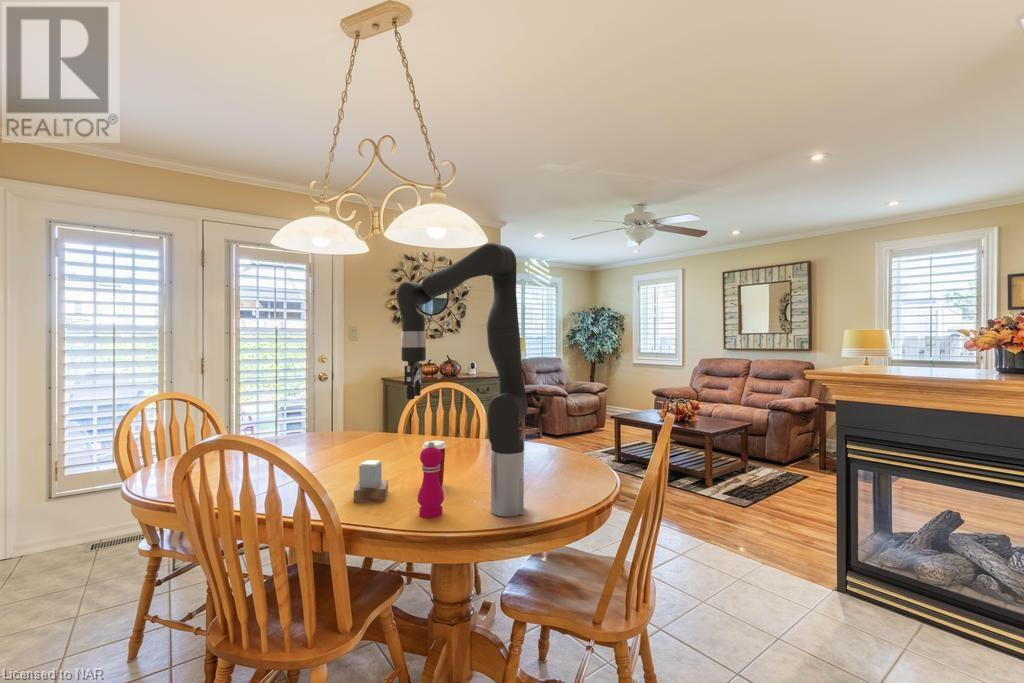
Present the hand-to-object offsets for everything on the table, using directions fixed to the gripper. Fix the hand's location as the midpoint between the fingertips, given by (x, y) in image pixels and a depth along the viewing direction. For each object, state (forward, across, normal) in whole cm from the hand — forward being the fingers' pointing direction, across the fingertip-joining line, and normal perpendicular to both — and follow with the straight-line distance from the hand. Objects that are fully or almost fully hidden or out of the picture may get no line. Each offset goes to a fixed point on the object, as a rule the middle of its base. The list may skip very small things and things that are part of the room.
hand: (413, 397), depth 152 cm
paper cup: (+30, +6, -5) cm, 31 cm away
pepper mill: (+30, -19, -9) cm, 36 cm away
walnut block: (+30, -5, +12) cm, 33 cm away
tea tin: (+26, -6, +12) cm, 29 cm away
